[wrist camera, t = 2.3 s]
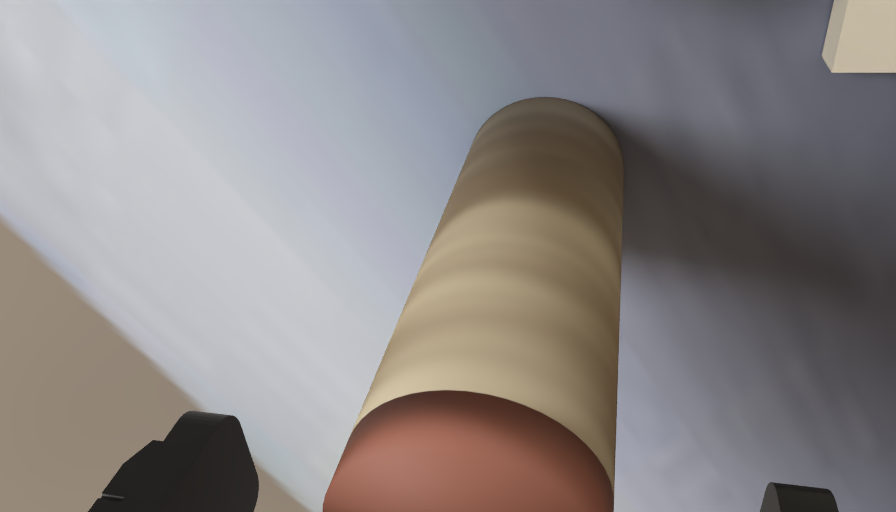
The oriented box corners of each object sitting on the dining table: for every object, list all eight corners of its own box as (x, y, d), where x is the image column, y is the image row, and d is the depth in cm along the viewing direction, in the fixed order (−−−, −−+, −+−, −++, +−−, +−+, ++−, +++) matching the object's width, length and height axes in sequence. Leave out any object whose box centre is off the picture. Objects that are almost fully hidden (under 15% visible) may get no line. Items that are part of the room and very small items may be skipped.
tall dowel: (464, 96, 18) (297, 431, 9) (629, 97, 17) (620, 470, 8) (473, 231, 20) (347, 604, 11) (619, 238, 19) (604, 648, 10)
